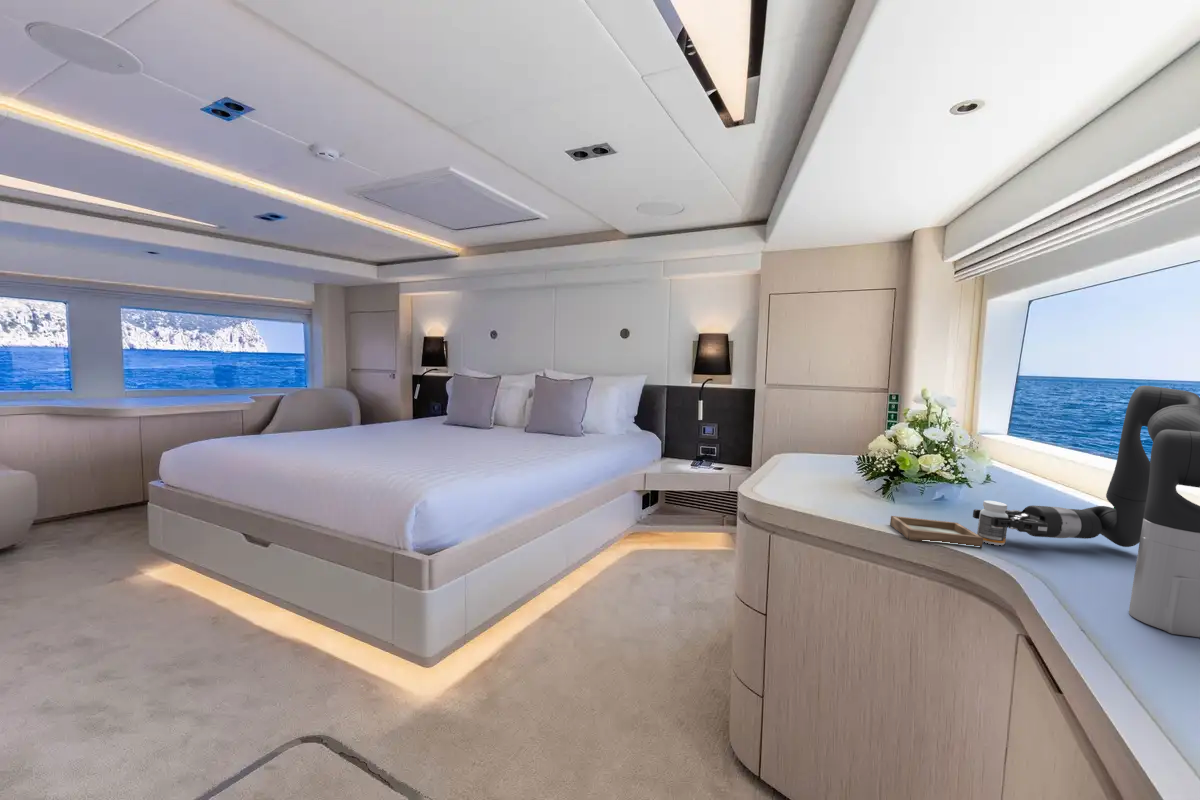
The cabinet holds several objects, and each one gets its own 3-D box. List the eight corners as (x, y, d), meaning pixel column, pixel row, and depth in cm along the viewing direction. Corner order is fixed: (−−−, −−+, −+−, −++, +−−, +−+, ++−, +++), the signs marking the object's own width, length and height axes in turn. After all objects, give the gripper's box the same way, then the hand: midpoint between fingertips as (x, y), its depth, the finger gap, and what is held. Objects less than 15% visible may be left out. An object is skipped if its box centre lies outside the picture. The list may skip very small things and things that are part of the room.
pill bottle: (1009, 547, 126) (1015, 507, 125) (983, 544, 127) (988, 504, 126) (997, 540, 132) (1002, 501, 131) (971, 536, 133) (976, 498, 132)
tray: (981, 548, 124) (983, 537, 124) (909, 540, 127) (910, 529, 126) (955, 532, 136) (957, 522, 136) (890, 524, 138) (891, 515, 138)
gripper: (1028, 499, 136) (964, 495, 136) (1079, 515, 122) (1008, 511, 121) (1024, 527, 137) (960, 523, 136) (1075, 547, 122) (1004, 542, 122)
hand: (983, 517), depth 129 cm, fingers closed on pill bottle, 5 cm apart
